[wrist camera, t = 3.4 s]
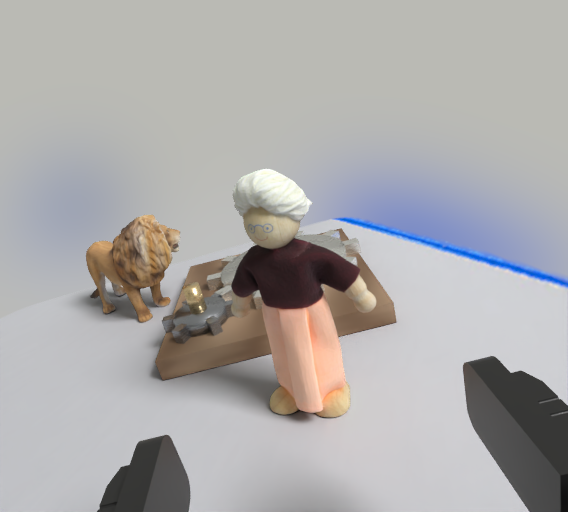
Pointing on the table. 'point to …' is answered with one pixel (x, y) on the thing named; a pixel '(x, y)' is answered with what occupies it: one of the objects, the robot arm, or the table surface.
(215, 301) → the gear
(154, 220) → the lion figurine
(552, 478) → the robot arm
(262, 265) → the grandmother figurine
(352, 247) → the gear
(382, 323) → the gear board
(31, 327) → the table surface
